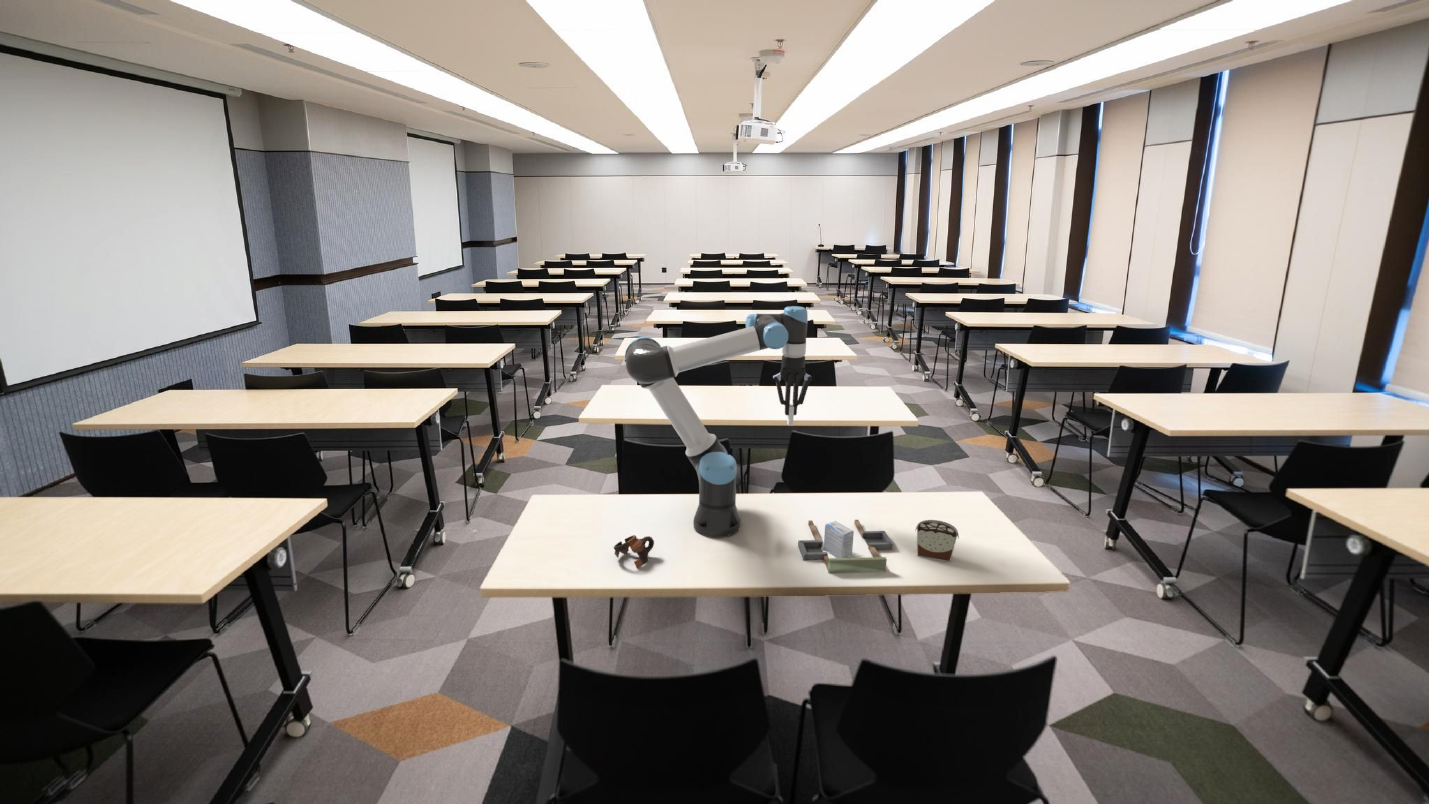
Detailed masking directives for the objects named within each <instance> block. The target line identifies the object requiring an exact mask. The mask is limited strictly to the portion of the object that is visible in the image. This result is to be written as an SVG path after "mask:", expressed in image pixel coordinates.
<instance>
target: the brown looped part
mask: <svg viewBox="0 0 1429 804" xmlns="http://www.w3.org/2000/svg"><path fill="white" fill-rule="evenodd" d="M624 541H625V542H624V543H623V542H622V541H619V542H618V543H616V544H615V545H614V546H613V549H614V556H615V557H617V558H619V555H620V553H621V554H622V555H624V556H625V555H628V554H629V551H630V550H631V552H633V553H634V554H637V556H638V557H639V558H638V559H636V560H635V561H634V562H633V563H634V565H635V567H636V569H639V568H641V567H642V566H644V565H646V564H647V563H648V562H649V553H650V552H652V551H651V550H652V549H653V548H654V545H655V540H654V539H653V537H651V536H648V535H647V536H644V537H642V538H638V537H637V535H630V536H628V537H626V538H625V539H624ZM647 542H648V545H647V546H646V543H647ZM629 548H630V549H629Z"/></svg>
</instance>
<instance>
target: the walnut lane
mask: <svg viewBox="0 0 1429 804" xmlns="http://www.w3.org/2000/svg"><path fill="white" fill-rule="evenodd" d="M853 524H854V526H855V528H856V529H857V531H858V533H859V535H860V537H861V538H862V531H866V530H865V528H864V527H863V525H862V524H861V521H860V520H859V519H854V523H853ZM808 527H809V530H810V532H811V535H812V536H813V538H814V539H813V540H822V539H821V537H820V535H819V532H818V530H817V528H816V526H815V524H814V521H813V520H811V519H809V520H808ZM865 536H866V535H865ZM863 538H864V537H863ZM863 538H862V539H863ZM821 544H822V545H823V542H822V543H821ZM818 547H821V546H820V545H819V544H818ZM867 547H870V549H869V548H868V551H869V553H870V554H871V557H870V556H869V557H849V558H837V557H835V558H834V557H833V558H831V557H830V556H829V555H828V556H824V560H823V562H824V566H825V567H826V570H827V571H828V573H829V574H836V573H837V574H842V573H850V574H851V573H885V572H887V571H886V570H887V560H888V559H887V557H886V556H880V554H879V552H878V550H876V549H875V548H874V546H868V545H867ZM821 548H822V549H823V546H822V547H821Z"/></svg>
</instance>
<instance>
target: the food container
mask: <svg viewBox="0 0 1429 804" xmlns="http://www.w3.org/2000/svg"><path fill="white" fill-rule="evenodd" d="M914 532H916V539H917V540H916V541H917V542H916V549H917V551H916V554H917V557H920V558H926V559H931V560H938V561H944V562H949V563H950V562H951V559H952V557H953V552H954V549H955V546H956V541H957V539H960V536H959V531H958V528H956V526H955V525H952V524H951V523H949V522H946V521H943V520H936V519H927V520H922V521H919V522H918V524H917V525H916V526H915V531H914Z"/></svg>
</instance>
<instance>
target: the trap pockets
mask: <svg viewBox="0 0 1429 804" xmlns="http://www.w3.org/2000/svg"><path fill="white" fill-rule="evenodd" d="M865 535H866V536H865ZM863 537H864V538H863ZM861 538H862V539H863V540H864V542H865V543H866V544H867V547H868V546H874V548H875V549H876V551H893V550H894V549H893V548H894V543H893V541H892V540H891V539H890V537H889V536H888V534H887V532H886V531H885V530H865V531H862V537H861ZM821 543H822V544H821ZM818 544H819V545H820V546H821V547H822V548H821V547H818ZM797 548H798V551H799V552H800V555H801V559H802V561H824V556H828V557H829V552H827V551H824V550H823V540H822V539H821V540H815V539H809V540H808V539H807V540H806V539H804V540H803V539H802V540H801V539H799V540H798V543H797ZM868 548H869V549H870V547H868ZM869 549H868V550H869Z"/></svg>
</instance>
